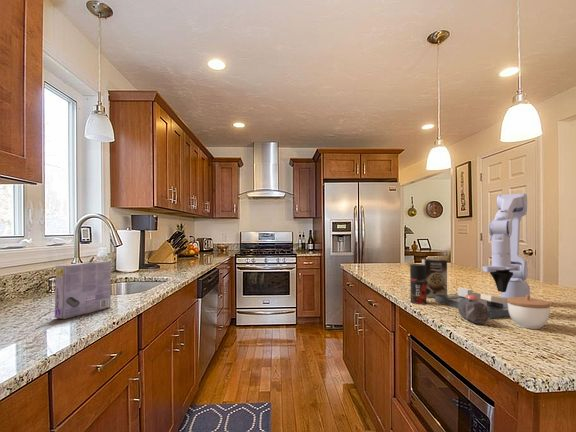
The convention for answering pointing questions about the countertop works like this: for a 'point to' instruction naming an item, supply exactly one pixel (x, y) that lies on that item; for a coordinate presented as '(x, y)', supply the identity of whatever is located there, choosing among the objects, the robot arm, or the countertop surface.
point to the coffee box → (435, 277)
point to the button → (472, 297)
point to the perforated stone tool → (473, 310)
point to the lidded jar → (528, 311)
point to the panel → (493, 307)
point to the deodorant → (418, 283)
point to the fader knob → (464, 292)
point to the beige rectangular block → (494, 298)
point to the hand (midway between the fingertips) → (501, 291)
